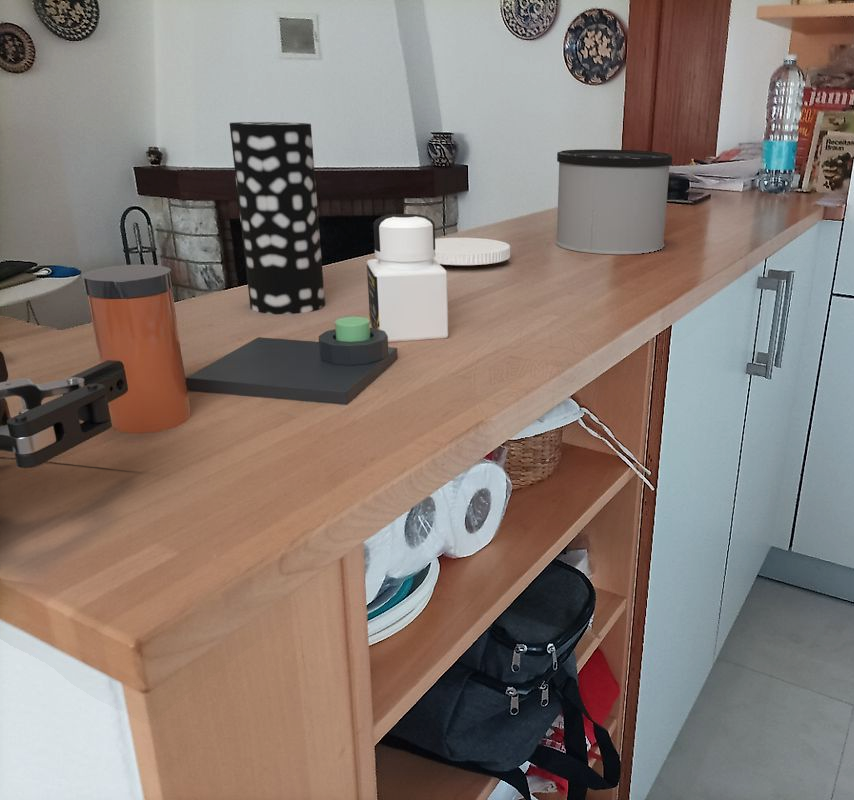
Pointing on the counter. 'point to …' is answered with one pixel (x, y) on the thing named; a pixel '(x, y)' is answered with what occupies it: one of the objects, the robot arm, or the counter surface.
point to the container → (612, 200)
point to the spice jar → (140, 344)
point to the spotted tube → (278, 215)
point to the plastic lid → (470, 251)
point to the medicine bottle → (407, 280)
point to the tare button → (352, 329)
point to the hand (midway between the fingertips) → (59, 369)
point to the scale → (298, 368)
